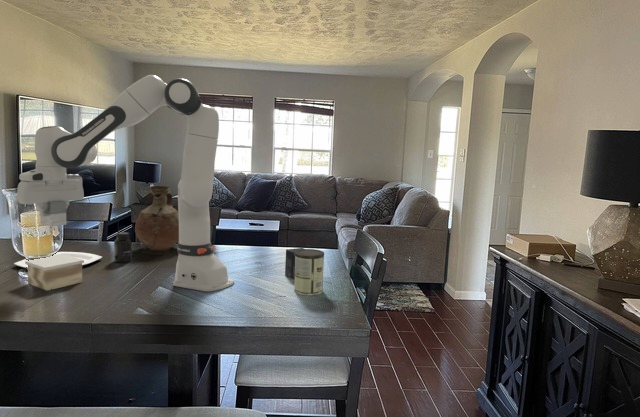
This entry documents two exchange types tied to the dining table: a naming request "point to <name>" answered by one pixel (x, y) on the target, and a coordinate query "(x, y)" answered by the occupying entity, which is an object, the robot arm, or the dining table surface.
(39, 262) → the stand
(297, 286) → the coffee can
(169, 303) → the dining table surface
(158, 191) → the jug
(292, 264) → the box
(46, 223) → the block
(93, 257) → the plate
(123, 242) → the supplement bottle
